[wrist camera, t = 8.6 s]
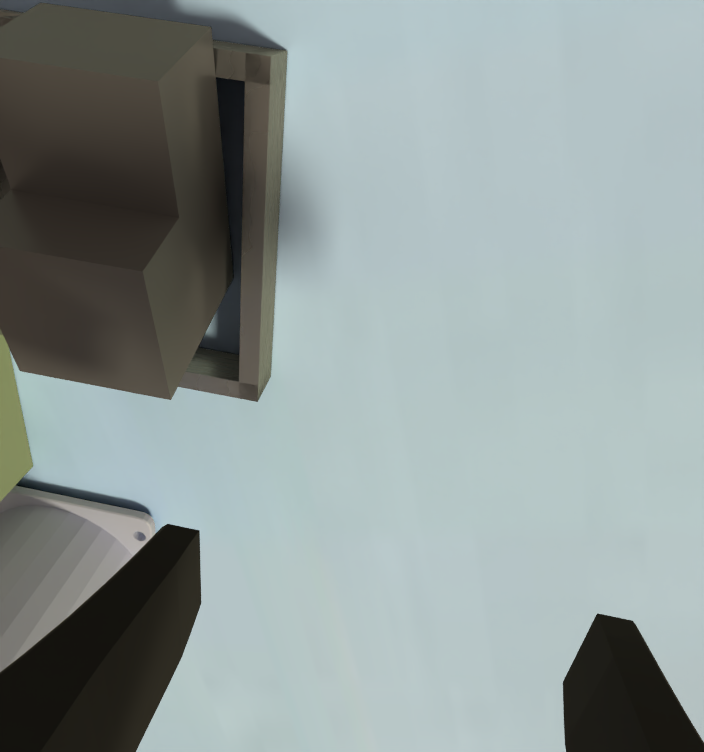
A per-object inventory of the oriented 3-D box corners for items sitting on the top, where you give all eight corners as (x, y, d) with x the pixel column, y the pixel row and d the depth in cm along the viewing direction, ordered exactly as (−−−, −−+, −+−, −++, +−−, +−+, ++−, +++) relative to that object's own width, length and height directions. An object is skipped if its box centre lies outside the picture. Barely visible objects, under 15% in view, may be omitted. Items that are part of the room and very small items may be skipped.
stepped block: (233, 277, 19) (170, 399, 16) (107, 255, 20) (19, 370, 16) (211, 27, 14) (111, 129, 11) (40, 2, 14) (-109, 94, 11)
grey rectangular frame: (270, 376, 21) (257, 401, 20) (4, 326, 22) (-25, 348, 20) (287, 50, 16) (271, 56, 14) (-63, 0, 16) (-109, 1, 15)
